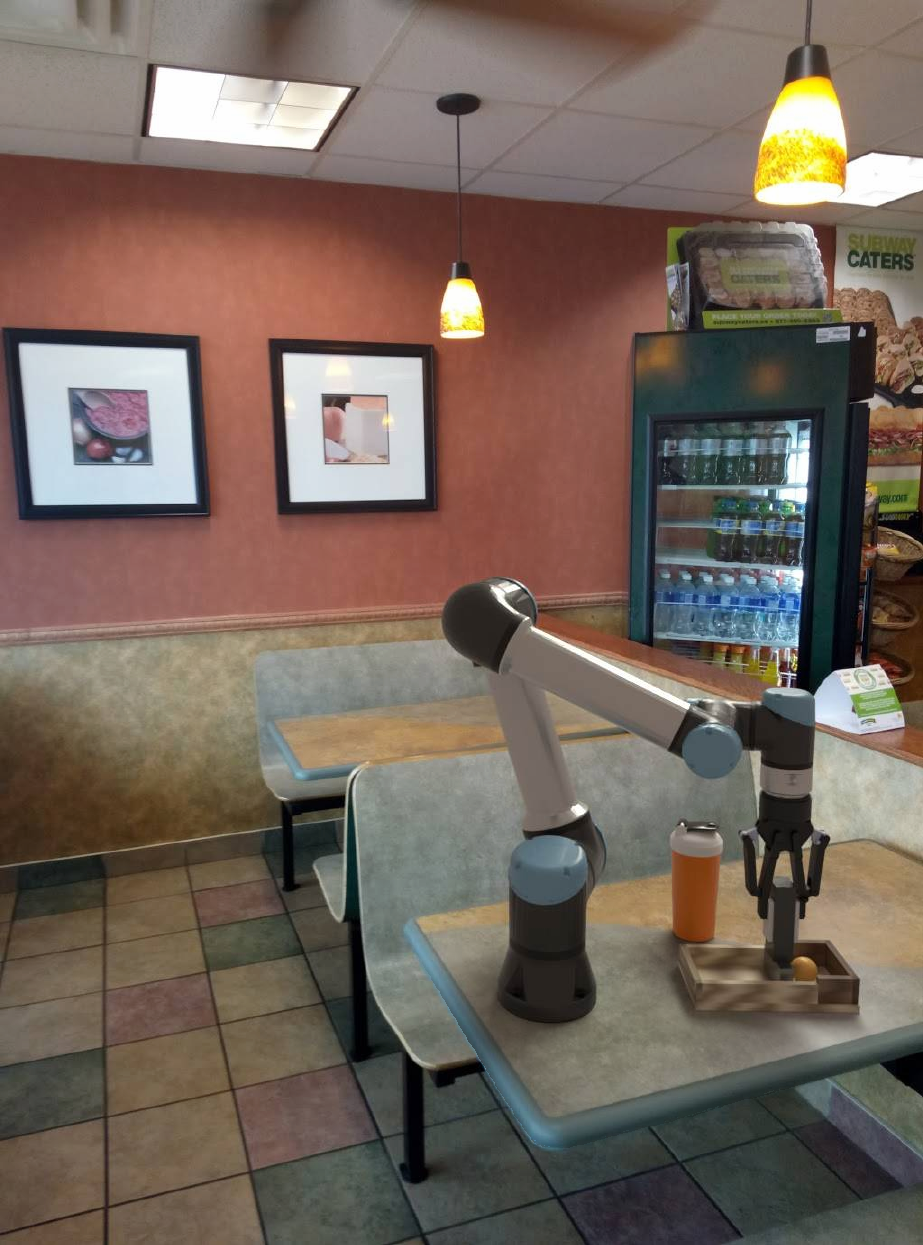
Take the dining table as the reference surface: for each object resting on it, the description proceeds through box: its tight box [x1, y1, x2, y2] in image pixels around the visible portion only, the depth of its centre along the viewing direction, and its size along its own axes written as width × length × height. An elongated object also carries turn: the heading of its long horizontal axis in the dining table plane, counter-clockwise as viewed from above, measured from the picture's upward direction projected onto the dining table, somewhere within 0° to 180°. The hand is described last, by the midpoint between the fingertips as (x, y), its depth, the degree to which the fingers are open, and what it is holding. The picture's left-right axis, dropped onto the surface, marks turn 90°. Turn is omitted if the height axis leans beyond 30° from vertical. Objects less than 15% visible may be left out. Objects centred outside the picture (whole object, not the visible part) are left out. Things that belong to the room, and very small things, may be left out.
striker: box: [763, 875, 797, 981], centre depth 139 cm, size 3×8×16 cm, turn 178°
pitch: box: [677, 939, 861, 1014], centre depth 140 cm, size 24×13×5 cm, turn 88°
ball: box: [791, 957, 818, 981], centre depth 139 cm, size 4×4×4 cm
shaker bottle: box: [669, 817, 724, 943], centre depth 157 cm, size 9×9×20 cm
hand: (780, 937), depth 139 cm, fingers closed on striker, 3 cm apart
